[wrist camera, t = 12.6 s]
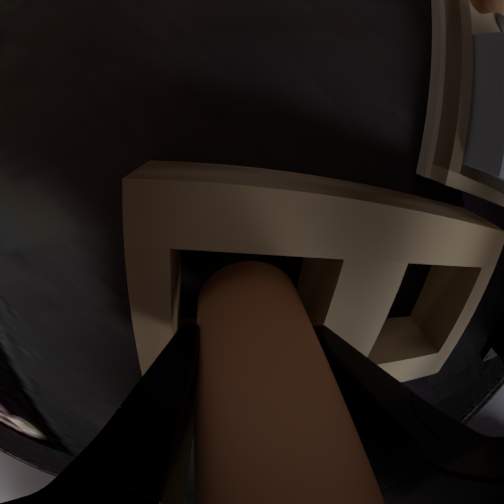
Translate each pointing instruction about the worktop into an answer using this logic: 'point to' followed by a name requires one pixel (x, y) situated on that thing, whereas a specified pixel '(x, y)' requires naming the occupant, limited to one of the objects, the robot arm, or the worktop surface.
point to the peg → (269, 400)
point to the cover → (487, 106)
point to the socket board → (310, 254)
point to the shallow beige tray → (456, 95)
